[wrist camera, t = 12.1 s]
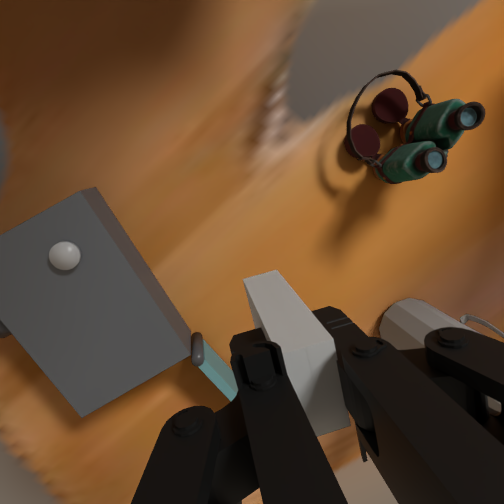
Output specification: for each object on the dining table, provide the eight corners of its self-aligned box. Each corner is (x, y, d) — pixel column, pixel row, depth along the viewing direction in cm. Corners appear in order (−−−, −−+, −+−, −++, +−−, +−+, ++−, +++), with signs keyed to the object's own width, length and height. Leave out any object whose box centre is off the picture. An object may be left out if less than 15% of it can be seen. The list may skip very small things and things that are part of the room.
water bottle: (391, 363, 47) (603, 572, 23) (364, 315, 45) (566, 489, 21) (453, 323, 47) (728, 489, 23) (429, 273, 45) (704, 399, 21)
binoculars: (424, 27, 29) (512, 112, 31) (370, 70, 39) (438, 131, 41) (350, 122, 30) (440, 200, 31) (317, 140, 40) (385, 197, 42)
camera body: (-34, 259, 36) (-78, 278, 30) (95, 186, 37) (77, 191, 31) (78, 396, 41) (59, 435, 35) (191, 331, 42) (191, 359, 36)
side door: (258, 412, 45) (267, 442, 40) (189, 336, 42) (189, 360, 37) (271, 402, 45) (281, 432, 40) (202, 326, 42) (204, 348, 37)
